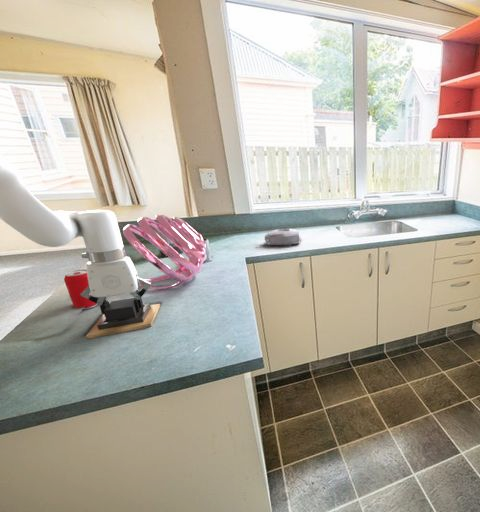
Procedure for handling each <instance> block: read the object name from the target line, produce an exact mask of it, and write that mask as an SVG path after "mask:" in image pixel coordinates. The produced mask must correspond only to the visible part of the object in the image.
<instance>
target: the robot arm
mask: <svg viewBox="0 0 480 512" xmlns="http://www.w3.org/2000/svg"><path fill="white" fill-rule="evenodd" d="M0 220H2V221H3V222H4V223H5V224H7V225H8V226H10V227H11V228H12V229H14V230H15V231H17V232H18V233H19V234H20V235H22V236H24V237H25V238H26V239H28V240H29V241H31V242H34V243H35V244H38V245H40V246H44V247H48V248H57V247H58V248H59V247H62V246H63V247H64V246H66V245H67V244H69V243H71V242H72V241H73V240H74V239H77V238H83V243H84V246H85V248H86V249H85V250H86V252H84V253H81V255H80V256H81V258H82V259H88V262H86V270H87V277H88V283H89V286H88V287H87V288H86V289H85V290H84V291H83V292H82V293H81V294H80V295H81V296H83V297H85V298H87V299H89V300H90V301H92V302H95V303H97V306H99V308H100V312H101V314H102V315H103V314H104V310H105V309H106V307H107V306H108V305H109V304H110V301H109V300H107V297H113V296H122V295H127V294H130V295H131V296H132V298H134V304H135V308H136V311H137V312H140V310H141V309H142V308H143V304H144V301H143V299H142V297H143V296H144V295H145V294H146V293H147V291H148V290H150V289H149V288H150V286H151V287H152V282H148V281H146V280H144V279H145V278H143V277H139V275H138V271H137V269H136V266H135V264H134V262H133V260H132V258H131V257H130V256H127V253H126V250H125V245H124V242H123V238H122V233H121V229H120V227H119V222H118V220H117V216H116V214H115V212H114V211H112V210H108V209H94V210H93V209H91V210H86V211H68V210H65V211H64V210H57V211H56V210H55V211H53V210H52V209H50V208H49V207H48V206H46V205H45V204H44V203H43V202H41V201H40V200H39V199H38V198H37V197H36V196H35V195H34V194H33V193H32V192H31V191H30V189H28V187H27V186H26V184H25V182H24V178H23V176H22V174H21V172H20V171H19V169H17V167H15V166H14V165H13V164H12V163H10V161H8V160H7V159H6V158H4V157H3V156H2V155H0ZM140 284H141V285H143V286H144V287H141V286H140ZM139 287H141V288H140V290H139ZM90 291H91V293H90ZM104 315H105V314H104ZM105 318H106V317H105Z"/></svg>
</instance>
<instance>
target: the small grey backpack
mask: <svg viewBox="0 0 480 512" xmlns="http://www.w3.org/2000/svg"><path fill="white" fill-rule="evenodd" d="M263 239H264V240H265V244H266V245H268V246H277V245H285V246H292V244H293V245H297V244H300V242H301V233H300V231H299V230H298V229H294V228H293V229H292V228H278V229H273V230H271V231H269V232H267V233H266V234H265V235H264V238H263Z"/></svg>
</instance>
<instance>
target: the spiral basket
mask: <svg viewBox="0 0 480 512" xmlns="http://www.w3.org/2000/svg"><path fill="white" fill-rule="evenodd" d="M155 219H156V220H154V219H153V218H151V217H149V216H141V217H140V218H138V219H137V224H138V225H136V224H133V223H129V224H127V225H125V226H124V227H123V229H122V234H123V236H124V237H125V239H126V240H127V242H128V243H129V244H130V245H131V246H132V248H134V250H136V252H138V253H139V254H140V255H141V256H142V257H143V258H144V259H145V260H146V261H147V262H149V263H150V264H151V265H153V266H154V267H155V268H156V269H158V270H159V271H160V272H162V273H163V274H165V275H163V276H159V277H154V278H143V279H144V280H146V281H148V282H150V283H155V282H160V281H161V282H162V281H167V280H169V279H173V280H175V281H177V282H176V283H175V284H171V285H167V286H152V285H151V286H150V288H149V289H148V290H154V291H155V290H157V291H158V290H159V291H161V290H162V291H163V290H169V289H175V288H177V287H180V286H182V285H184V284H187V283H190V282H191V281H192V280H193V279H194V277H195V276H196V275H198V274H199V273H201V271H202V269H203V264H204V263H205V262H204V261H205V260H206V257H207V254H206V252H205V247H206V243H205V241H204V240H203V239H204V238H203V236H202V234H201V233H200V232H197V231H196V230H195V229H194V228H193V227H192V226H191V225H189V224H188V223H187V221H185V220H184V219H182V218H180V217H177V216H173V219H171V218H170V217H168V216H167V215H164V214H155ZM154 228H155V229H156V230H158V231H159V232H160V233H162V234H163V235H164V236H166V237H167V238H168V239H169V240H170V241H172V242H173V243H174V244H175V245H176V246H177V247H178V248H179V249H180V250H181V251H182V253H183V254H184V255H186V257H187V258H188V259H187V258H185V257H184V256H183V255H181V254H179V253H178V252H176V251H175V250H174V249H173V248H172V247H171V246H170V245H168V244H167V243H166V242H165V241H164V240H163V239H162V238H161V237H160V236H159V235H158V234H157V233H156V232H155V229H154ZM174 228H175V229H176V230H177V231H176V230H175V229H174ZM134 233H135V234H136V235H138V236H139V237H142V238H143V239H145V240H146V241H148V243H150V244H152V245H153V246H154V247H156V248H157V249H158V250H159V251H160V250H161V251H162V252H163V253H164V254H165V255H166V256H168V258H169V260H170V261H172V262H173V264H175V266H176V267H177V269H176V270H175V269H172V268H171V267H170V266H169V265H167V264H166V263H164V262H163V261H162V260H161V259H159V258H158V257H157V256H156V255H155V254H153V253H152V252H151V251H150V250H149V249H148V248H147V247H146V246H145V245H144V244H143V243H142V242H141V240H139V239H138V238H137V237H136V235H135V234H134ZM183 236H184V237H185V238H186V239H187V240H188V241H189V242H188V241H187V240H185V239H184V238H183ZM198 243H199V244H200V245H199V244H198ZM139 287H141V288H143V287H144V286H143V285H141V284H140V286H139Z"/></svg>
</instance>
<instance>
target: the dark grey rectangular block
mask: <svg viewBox="0 0 480 512" xmlns="http://www.w3.org/2000/svg"><path fill="white" fill-rule="evenodd" d="M104 314H105V317H106V320H107V322H109V321H114V320H120V319H126V318H132V317H136V315H137V314H138V312H137V311H136V308H135V304H134V297H132V298H125V299H118V300H111V301H109V305H108V306H107V307H106V309H105V310H104Z"/></svg>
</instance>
